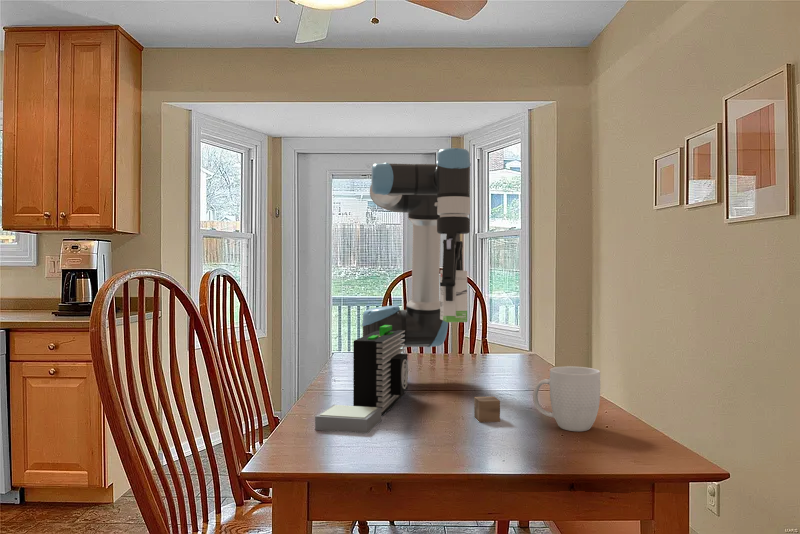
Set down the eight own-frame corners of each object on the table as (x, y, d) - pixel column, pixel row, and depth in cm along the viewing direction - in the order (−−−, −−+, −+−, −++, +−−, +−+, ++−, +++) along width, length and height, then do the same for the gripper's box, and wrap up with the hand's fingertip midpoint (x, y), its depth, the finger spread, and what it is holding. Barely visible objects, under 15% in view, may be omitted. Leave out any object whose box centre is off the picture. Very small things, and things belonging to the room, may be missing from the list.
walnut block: (474, 417, 157) (474, 396, 157) (494, 417, 158) (494, 396, 158) (479, 422, 152) (479, 401, 152) (500, 422, 153) (500, 400, 153)
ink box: (468, 322, 147) (468, 270, 146) (446, 322, 146) (446, 270, 146) (459, 319, 155) (459, 269, 155) (439, 319, 154) (439, 269, 154)
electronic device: (394, 417, 157) (394, 334, 157) (350, 415, 160) (351, 333, 160) (415, 394, 185) (415, 323, 185) (377, 392, 187) (377, 323, 187)
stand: (333, 417, 157) (333, 404, 157) (381, 420, 154) (381, 406, 154) (315, 429, 145) (315, 415, 145) (366, 433, 142) (366, 418, 142)
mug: (527, 429, 146) (527, 370, 146) (538, 418, 156) (538, 363, 156) (596, 436, 140) (596, 375, 140) (603, 424, 150) (603, 368, 150)
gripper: (444, 219, 162) (444, 310, 162) (428, 213, 140) (428, 317, 141) (475, 219, 160) (474, 310, 160) (463, 212, 139) (462, 318, 139)
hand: (453, 313), depth 150 cm, fingers closed on ink box, 9 cm apart
